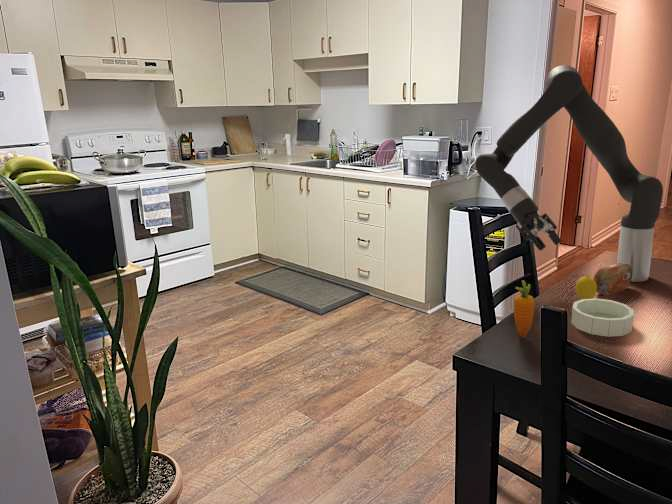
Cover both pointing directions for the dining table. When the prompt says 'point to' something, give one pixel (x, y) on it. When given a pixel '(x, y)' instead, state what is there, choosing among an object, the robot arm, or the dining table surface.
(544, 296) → the dining table surface
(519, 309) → the carrot
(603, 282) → the tin
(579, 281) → the lemon
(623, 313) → the bowl
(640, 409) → the dining table surface
